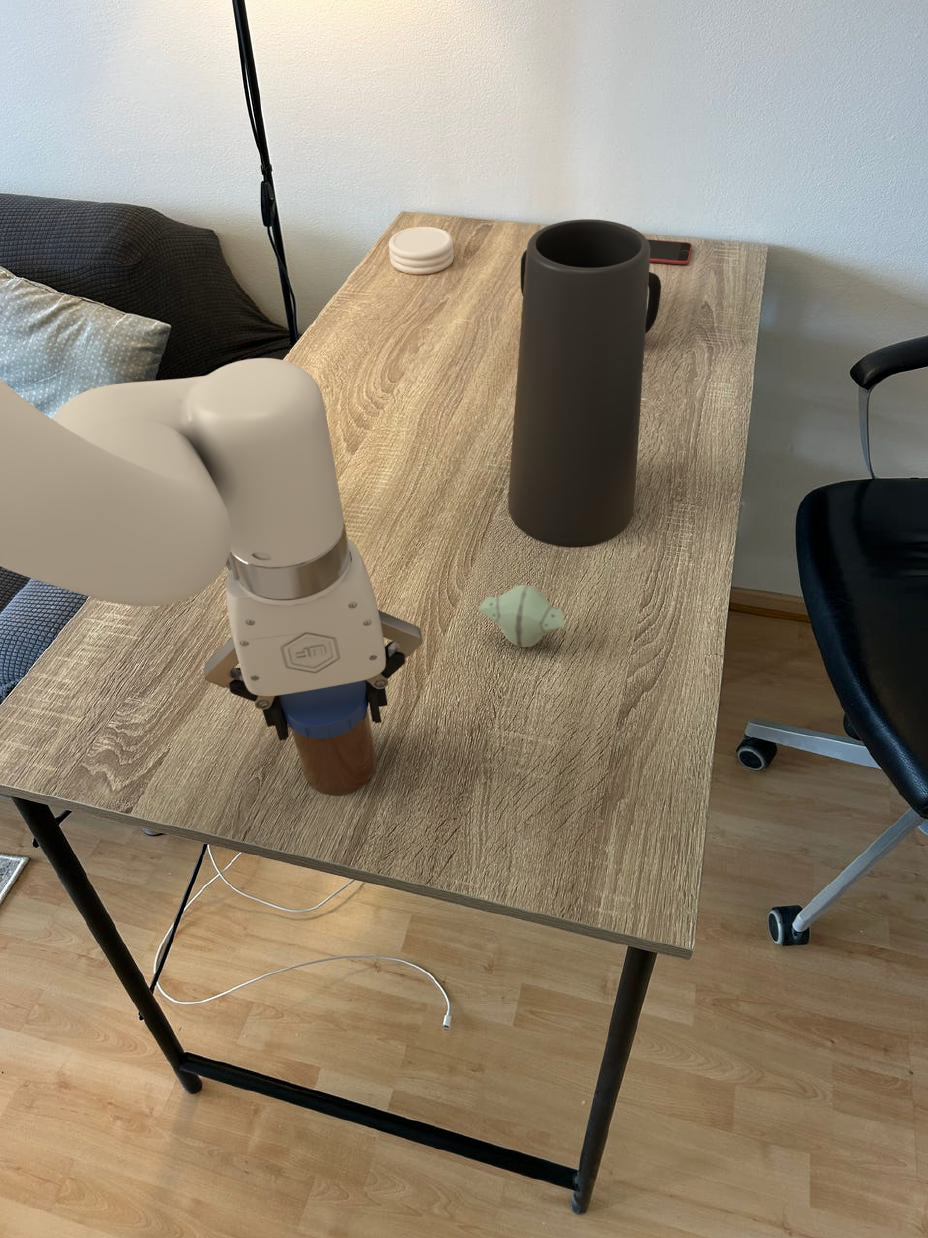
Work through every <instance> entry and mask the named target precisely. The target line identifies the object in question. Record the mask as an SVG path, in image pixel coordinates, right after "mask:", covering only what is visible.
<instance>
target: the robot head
mask: <svg viewBox="0 0 928 1238" xmlns="http://www.w3.org/2000/svg"><path fill="white" fill-rule="evenodd" d="M477 611H478V612H480V614H482V615H484V616H485V617H486V618H488V619H490V620H491V621H493V622H494V623H495V624H496V625H497V626H498V627H499V628H500V629H501V631H502V633H503V635H504V637H505V639H507V641H509V643H511V644H512V645H515V646H518V647H520V648H532V647H533V646H535V645H536V644H538V643H539V642H540V641H541V640H542V638H543V637H544V636H545V635H547V634H548V633H550V632H553V631H555V630H559V629H562V628H565V621H564V620H565V619H564V612H563V610H560V609H558V608H555V607H554V606H553V605H552V604H551V603H550V601H549V600H548V599H547V598H546V596H544V595H543V594H542V592H541V591H540V590H539V588H537V587H535V586H532V585H529V584H519V585H517V586H515V587H513V588H512V589H509V590H508V591H506V592H504V593H502V594H501V595H499V596H486V597H485V599H483V602H481V604H480V606H479V607H478V608H477Z"/></svg>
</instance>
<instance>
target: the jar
mask: <svg viewBox="0 0 928 1238" xmlns="http://www.w3.org/2000/svg"><path fill="white" fill-rule="evenodd" d="M366 712H367V714H365V715H364V717H363V719H362V720H361V721H360V722H359V723H358V724H357V725H356V726H355V727H354V728H353V729H352V730H349V731H348V732H346V733H344V734H342V735H339V736H336V737H332V738H326V739H316V738H310V737H308V738H307V737H306V736H303V735H301V734H299V733H297V732H296V731H294V730H293V729H292V728H291V727H290V730H291V734H292V738H293V741H294V745H295V748H296V751H297V754H298V755H297V756H298V758H299V762H300V766H301V768H302V772H303V776H304V778H305V780H306V782H307V784H308V785H309V786H310V787H311V788H312V789H313V790H315V791H317V792H318V793H322V794H324V795H327V796H344V795H349V794H352V793H354V792H356V791H358V790H360V789H362V788H363V787H364V786H365V785H367V783H369V782H370V781H371V779H372V778H373V776H374V774H375V772H376V769H377V765H378V764H377V763H378V757H377V751H376V747H375V740H374V735H373V729H372V723H371V719H370V714H369V708H368V709H367V711H366Z"/></svg>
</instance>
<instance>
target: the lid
mask: <svg viewBox="0 0 928 1238" xmlns="http://www.w3.org/2000/svg"><path fill="white" fill-rule="evenodd" d="M280 703H281V707H282V711H283V714H284V717H285V720H286V722H287V724H288V729H291V728H292V729H293V730H294V731H296V732H297V733H299V734H301V735H303V736H306V737H307V738H308V737H310V738H316V739H326V738H332V737H336V736H339V735H342V734H344V733H346V732H348V731H349V730H352V729H353V728H354V727H355V726H356V725H357V724H358V723H359V722H360V721H361V720H362V719H363V717H364V715H365V714H367V712H366V711H367V709H368V710H369V700H368V695H367V689H366V683H365V680H362V681H357V682H353V683H347V684H342V685H337V686H331V687H326V688H320V689H314V690H308V691H302V692H296V693H290V694H284V695H280Z"/></svg>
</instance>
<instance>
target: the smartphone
mask: <svg viewBox="0 0 928 1238" xmlns="http://www.w3.org/2000/svg"><path fill="white" fill-rule="evenodd" d="M646 239H647V241H648V242H649V245H650V263H659V264H660V263H661V264H672V265H682V266H683V265H688V264H689V262H690V258H691V255H692V249H693V244H692V243H690V242H687V241H685V242H684V241H676V240H673V241H672V240H663V239H662V240H661V239H650V238H646Z"/></svg>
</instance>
